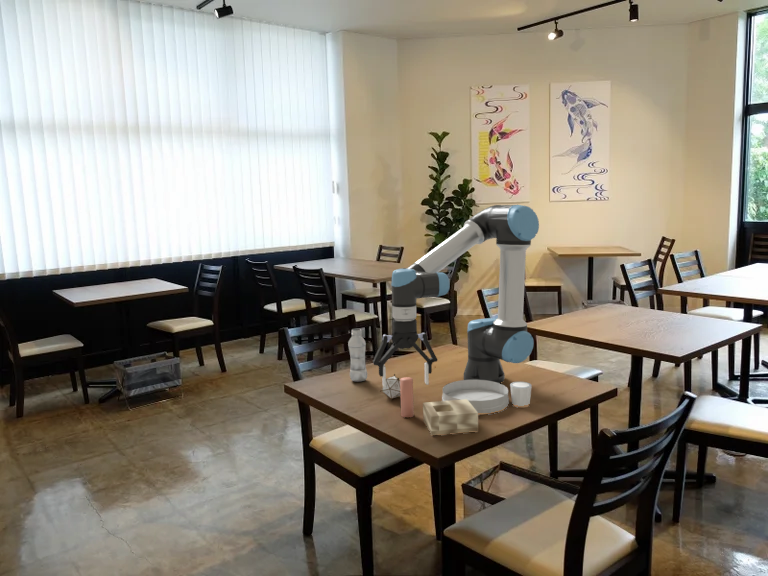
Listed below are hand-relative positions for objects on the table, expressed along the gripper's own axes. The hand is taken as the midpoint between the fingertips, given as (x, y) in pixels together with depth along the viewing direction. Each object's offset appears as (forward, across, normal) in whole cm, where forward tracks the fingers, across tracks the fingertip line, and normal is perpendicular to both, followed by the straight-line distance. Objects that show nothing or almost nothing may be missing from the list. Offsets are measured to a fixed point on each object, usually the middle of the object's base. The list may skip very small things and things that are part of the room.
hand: (405, 384), depth 193 cm
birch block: (+10, +12, -12) cm, 19 cm away
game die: (+10, -2, +17) cm, 20 cm away
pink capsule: (+10, 0, 0) cm, 10 cm away
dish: (+10, +24, +6) cm, 27 cm away
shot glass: (+10, +38, +1) cm, 40 cm away
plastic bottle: (+10, -12, +39) cm, 42 cm away
